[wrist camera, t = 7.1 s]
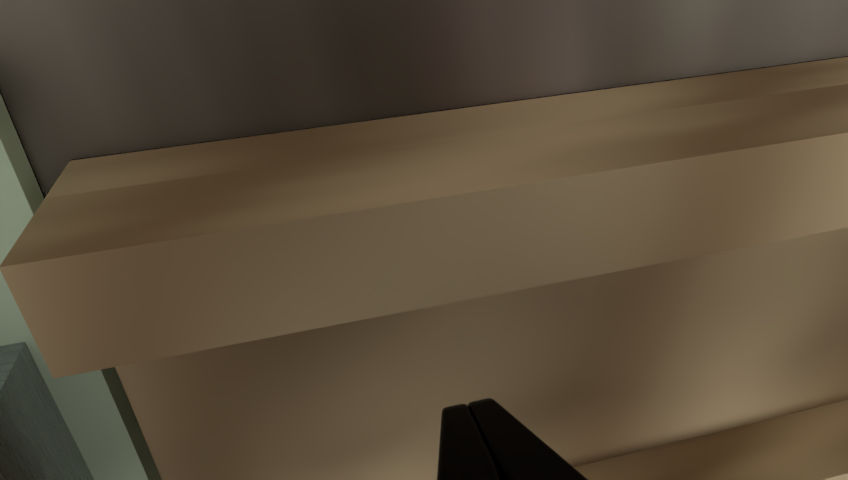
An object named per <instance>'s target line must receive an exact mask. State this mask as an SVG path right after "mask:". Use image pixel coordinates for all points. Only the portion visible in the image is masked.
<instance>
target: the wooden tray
mask: <svg viewBox="0 0 848 480" xmlns="http://www.w3.org/2000/svg"><path fill="white" fill-rule="evenodd" d="M0 271H1V273H2V275H3V277H4V279H5V281H6V283H7V285H8V287H9V289H10V291H11V293H12V295H13V297H14V299H15V301H16V303H17V305H18V307H19V309H20V311H21V313H22V315H23V317H24V320H25V322H26V324H27V326H28V328H29V330H30V332H31V334H32V336H33V338H34V340H35V342H36V344H37V346H38V348H39V350H40V352H41V354H42V356H43V358H44V360H45V362H46V364H47V366H48V368H49V370H50V372H51V374H52V376H53V379H54V378H59V377H65V376H70V375H75V374H80V373H86V372H91V371H96V370H101V369H107V368H112V367H115V368H116V370H117V373H118V375H119V378H120V380H121V382H122V385H123V387H124V390H125V392H126V394H127V397H128V399H129V402H130V404H131V406H132V409H133V411H134V414H135V416H136V418H137V421H138V423H139V426H140V428H141V430H142V433H143V435H144V438H145V440H146V442H147V445H148V447H149V450H150V452H151V454H152V457H153V459H154V462H155V464H156V466H157V469H158V471H159V474H160V476H161V478H162V480H437V471H438V457H439V443H440V429H441V414H442V410H443V408H445V407H448V406H453V405H458V404H466V405H468V404H469V403H470V402H472V401H477V400H481V399H486V398H491V399H494V400H495V401H496V402H498V403H499V404H500V405H501V406H502V407H503V408H505V409H506V410H507V411H508V412H509V413H510V414H512V415H513V416H514V417H515V418H516V419H517V420H519V421H520V422H521V423H522V424H523V425H525V426H526V427H527V428H528V429H529V430H530V431H532V432H533V433H534V434H535V435H536V436H537V437H539V438H540V439H541V440H542V441H543V442H544V443H546V444H547V445H548V446H549V447H550V448H552V449H553V450H554V451H555V452H556V453H557V454H559V455H560V456H561V457H562V458H563V459H564V460H566V461H567V462H568V463H569V464H570V465H571V466H573V467H574V468H575V469H576V470H577V471H579V472H580V473H581V474H582V475H583V476H584V477H586V478H587V479H588V480H848V57H843V58H835V59H828V60H820V61H813V62H805V63H798V64H790V65H783V66H775V67H768V68H760V69H753V70H745V71H738V72H730V73H723V74H715V75H708V76H701V77H693V78H686V79H678V80H671V81H663V82H656V83H648V84H641V85H633V86H626V87H618V88H611V89H603V90H596V91H588V92H581V93H573V94H566V95H558V96H551V97H543V98H536V99H528V100H521V101H513V102H506V103H498V104H491V105H483V106H476V107H468V108H461V109H453V110H446V111H438V112H431V113H424V114H416V115H409V116H401V117H394V118H386V119H379V120H371V121H364V122H356V123H349V124H341V125H334V126H326V127H319V128H311V129H304V130H296V131H289V132H281V133H274V134H266V135H259V136H251V137H244V138H236V139H229V140H221V141H214V142H206V143H199V144H191V145H184V146H177V147H169V148H162V149H154V150H147V151H139V152H132V153H124V154H117V155H109V156H102V157H94V158H87V159H79V160H72V161H69V162H68V164H67V165H66V167H65V168H64V170H63V171H62V173H61V175H60V176H59V178H58V179H57V181H56V182H55V184H54V185H53V187H52V188H51V190H50V191H49V193H48V194H47V196H46V197H45V199H44V200H43V202H42V203H41V205H40V206H39V208H38V209H37V211H36V212H35V214H34V215H33V217H32V218H31V220H30V221H29V223H28V224H27V226H26V227H25V229H24V230H23V232H22V233H21V235H20V236H19V238H18V239H17V241H16V242H15V244H14V245H13V247H12V248H11V250H10V251H9V253H8V254H7V256H6V257H5V259H4V260H3V262H2V263H1V265H0Z"/></svg>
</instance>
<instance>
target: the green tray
mask: <svg viewBox="0 0 848 480" xmlns="http://www.w3.org/2000/svg"><path fill="white" fill-rule="evenodd" d="M43 200H44V197H43V195H42V192H41V190H40V188H39V185H38V183H37V180H36V178H35V176H34V173H33V171H32V168H31V166H30V164H29V161H28V159H27V156H26V154H25V152H24V149H23V147H22V144H21V142H20V140H19V137H18V135H17V132H16V130H15V128H14V125H13V123H12V121H11V118H10V116H9V113H8V111H7V109H6V106H5V104H4V101H3V99H2V97H1V94H0V265H1V263H2V262H3V260H4V259H5V257H6V256H7V254H8V253H9V251H10V250H11V248H12V247H13V245H14V244H15V242H16V241H17V239H18V238H19V236H20V235H21V233H22V232H23V230H24V229H25V227H26V226H27V224H28V223H29V221H30V220H31V218H32V217H33V215H34V214H35V212H36V211H37V209H38V208H39V206H40V205H41V203H42V202H43ZM21 342H25V343H26V345H27V347H28V349H29V351H30V353H31V355H32V357H33V359H34V361H35V363H36V365H37V367H38V369H39V371H40V373H41V375H42V377H43V379H44V381H45V383H46V385H47V387H48V389H49V391H50V393H51V395H52V397H53V399H54V401H55V403H56V405H57V407H58V409H59V411H60V413H61V415H62V417H63V418H64V420H65V422H66V424H67V426H68V428H69V430H70V432H71V434H72V436H73V438H74V440H75V442H76V444H77V446H78V448H79V450H80V452H81V454H82V456H83V458H84V460H85V462H86V464H87V466H88V468H89V470H90V472H91V474H92V476H93V478H94V480H161V477H160V475H159V473H158V470H157V468H156V465H155V463H154V461H153V458H152V456H151V453H150V451H149V449H148V446H147V444H146V442H145V439H144V437H143V434H142V432H141V430H140V427H139V425H138V422H137V420H136V418H135V415H134V413H133V410H132V408H131V406H130V403H129V401H128V398H127V396H126V394H125V391H124V389H123V386H122V384H121V382H120V379H119V377H118V374H117V372H116V370H115V367H112V368H107V369H101V370H96V371H91V372H86V373H80V374H75V375H70V376H65V377H59V378H54V379H53V376H52V374H51V372H50V370H49V368H48V366H47V364H46V362H45V360H44V358H43V356H42V354H41V352H40V350H39V348H38V346H37V344H36V342H35V340H34V338H33V336H32V334H31V332H30V330H29V328H28V326H27V324H26V322H25V320H24V317H23V315H22V313H21V311H20V309H19V307H18V305H17V303H16V301H15V299H14V297H13V295H12V293H11V291H10V289H9V287H8V285H7V283H6V281H5V279H4V277H3V275H2V273H1V271H0V346H4V345H10V344H15V343H21Z"/></svg>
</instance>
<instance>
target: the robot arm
mask: <svg viewBox="0 0 848 480" xmlns="http://www.w3.org/2000/svg"><path fill="white" fill-rule="evenodd" d="M437 480H588V479H587V478H586V477H584V476H583V475H582V474H581V473H580V472H579V471H577V470H576V469H575V468H574V467H573V466H571V465H570V464H569V463H568V462H567V461H566V460H564V459H563V458H562V457H561V456H560V455H559V454H557V453H556V452H555V451H554V450H553V449H552V448H550V447H549V446H548V445H547V444H546V443H544V442H543V441H542V440H541V439H540V438H539V437H537V436H536V435H535V434H534V433H533V432H532V431H530V430H529V429H528V428H527V427H526V426H525V425H523V424H522V423H521V422H520V421H519V420H517V419H516V418H515V417H514V416H513V415H512V414H510V413H509V412H508V411H507V410H506V409H505V408H503V407H502V406H501V405H500V404H499V403H498V402H496V401H495V400H494V399H491V398H486V399H481V400H477V401H472V402H470V403H469V404H468V405H466V404H458V405H453V406H448V407H445V408H443V410H442V414H441V429H440V443H439V457H438V471H437Z"/></svg>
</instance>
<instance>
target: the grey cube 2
mask: <svg viewBox="0 0 848 480" xmlns="http://www.w3.org/2000/svg"><path fill="white" fill-rule="evenodd" d="M0 480H94V478H93V476H92V474H91V472H90V470H89V468H88V466H87V464H86V462H85V460H84V458H83V456H82V454H81V452H80V450H79V448H78V446H77V444H76V442H75V440H74V438H73V436H72V434H71V432H70V430H69V428H68V426H67V424H66V422H65V420H64V418H63V417H62V415H61V413H60V411H59V409H58V407H57V405H56V403H55V401H54V399H53V397H52V395H51V393H50V391H49V389H48V387H47V385H46V383H45V381H44V379H43V377H42V375H41V373H40V371H39V369H38V367H37V365H36V363H35V361H34V359H33V357H32V355H31V353H30V351H29V349H28V347H27V345H26V343H25V342H21V343H15V344H10V345H4V346H0Z"/></svg>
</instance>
